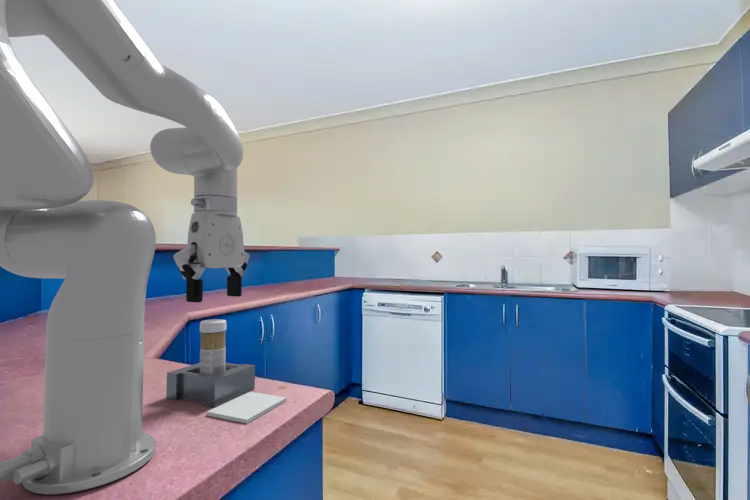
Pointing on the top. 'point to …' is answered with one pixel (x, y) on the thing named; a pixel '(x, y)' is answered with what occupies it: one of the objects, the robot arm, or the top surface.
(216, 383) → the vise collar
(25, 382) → the top surface
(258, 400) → the rubber pad
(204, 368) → the sprinkles bottle
